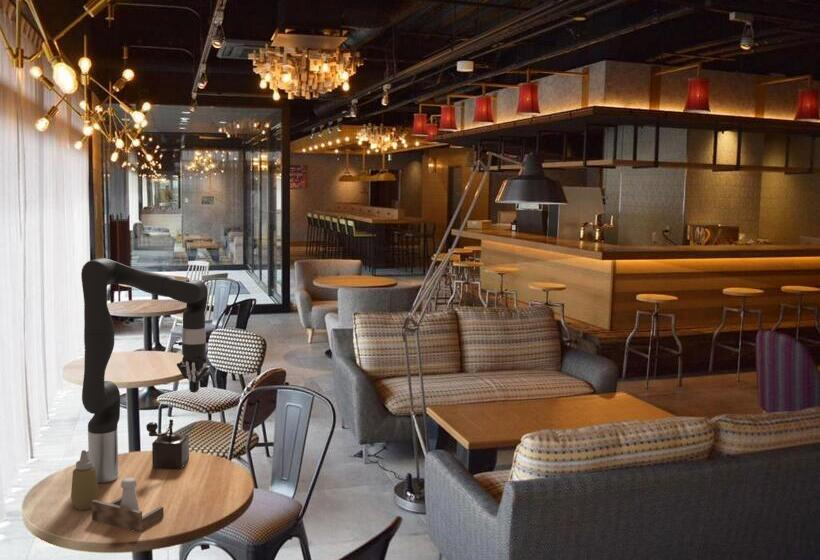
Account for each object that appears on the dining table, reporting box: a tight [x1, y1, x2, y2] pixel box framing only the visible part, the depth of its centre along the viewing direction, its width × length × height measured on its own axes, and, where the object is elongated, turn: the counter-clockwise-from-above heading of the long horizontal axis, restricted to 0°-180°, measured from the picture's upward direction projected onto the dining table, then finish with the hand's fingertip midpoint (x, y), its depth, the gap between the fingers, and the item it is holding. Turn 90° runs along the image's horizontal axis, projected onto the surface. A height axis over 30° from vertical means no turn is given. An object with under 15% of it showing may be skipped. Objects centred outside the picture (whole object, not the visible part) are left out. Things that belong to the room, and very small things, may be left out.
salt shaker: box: [120, 477, 140, 511], centre depth 223 cm, size 6×6×13 cm
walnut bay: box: [91, 496, 164, 533], centre depth 225 cm, size 18×11×6 cm, turn 68°
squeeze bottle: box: [70, 449, 100, 511], centre depth 231 cm, size 8×8×18 cm
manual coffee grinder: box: [146, 419, 190, 470], centre depth 265 cm, size 16×11×18 cm
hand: (194, 391), depth 248 cm, fingers closed
